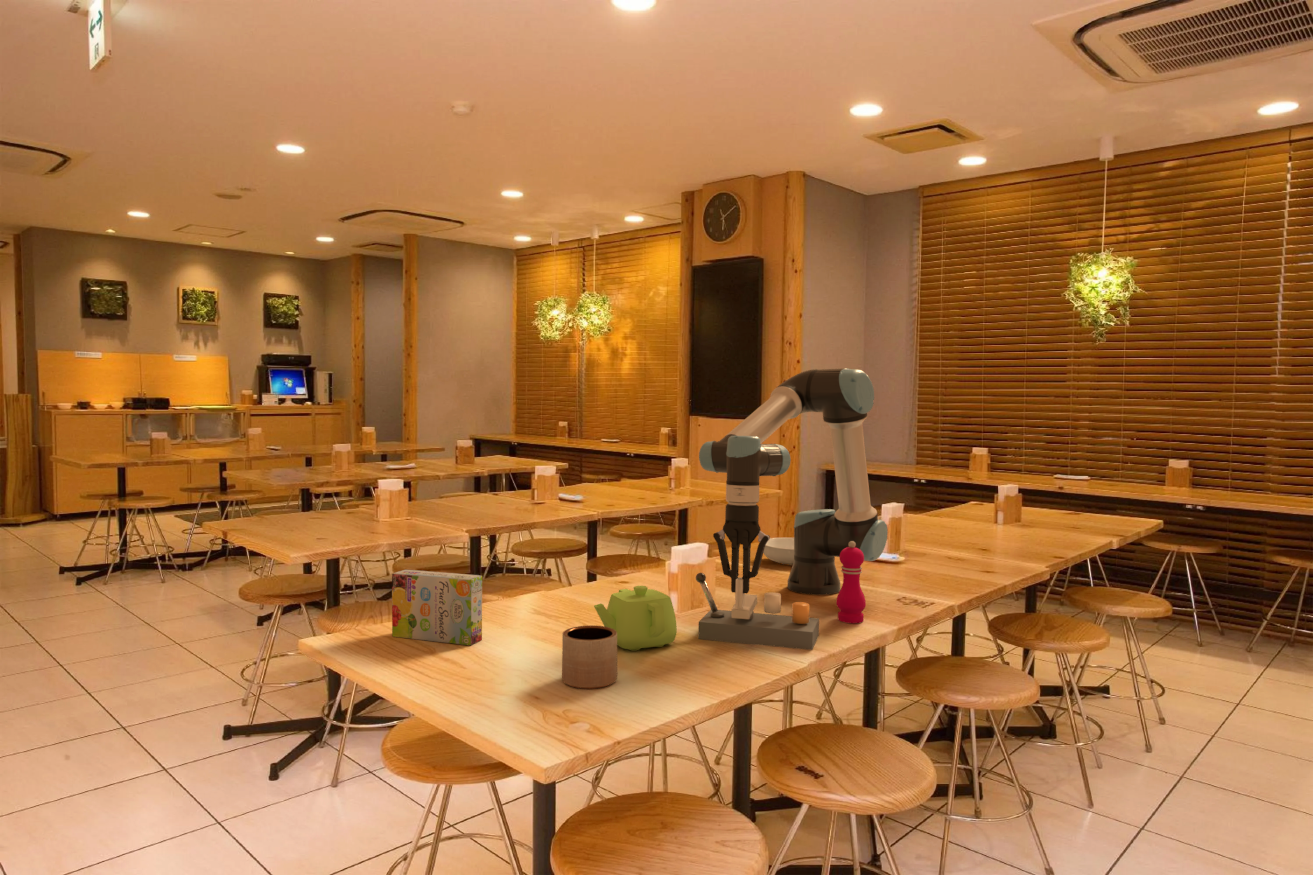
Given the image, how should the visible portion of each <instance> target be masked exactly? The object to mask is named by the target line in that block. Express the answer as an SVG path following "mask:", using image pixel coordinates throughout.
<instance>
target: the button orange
mask: <svg viewBox="0 0 1313 875" xmlns="http://www.w3.org/2000/svg"><path fill="white" fill-rule="evenodd" d="M791 612H792V613H791V616H792V622H794V623H798V624H806V623H809V618H810V604H809V603H807V602H802V601H795V602H793V603H792V609H791Z"/></svg>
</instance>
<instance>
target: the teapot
mask: <svg viewBox="0 0 1313 875" xmlns="http://www.w3.org/2000/svg"><path fill="white" fill-rule="evenodd" d="M593 607H594V609H595V611H596V613H597V615H598V616H599V619H600V621H601V623H602V626H605V627H609V628H612V629H614V630H616V631H617V647H619V648H622V649H623V650H624V649H625V650H629V651H634V652H635V651H636V652H637V651H640V650H641V649H646V648H653V647H656V648H662V647H664V646H665V645H668V644H672V643H674V641H675V639H676V636H677V619H676V612H675V609H674V605H673V601H672V598H671V596H670V595H668V594H666V593H663V592H662V591H660V590H657V589H653V588H649V587H648V586H646V585H635V586H633V590H631V589H629V588H623V589H618V592H613V593H611V594H610V598H609V601H608V605H607V607H606V606H605V604H603V603H598V604H594V606H593Z"/></svg>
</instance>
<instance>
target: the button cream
mask: <svg viewBox="0 0 1313 875" xmlns="http://www.w3.org/2000/svg"><path fill="white" fill-rule="evenodd" d="M763 600H764V602H763V603H764V604H763V612H764V613H765V614H773V615H776V614H780V613H781V611H782V610H781V609H782V608H781V606H782V594H781V593H779V592H774V591H773V592H769V591H768V592H765V593H764V595H763Z"/></svg>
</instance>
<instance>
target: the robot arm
mask: <svg viewBox="0 0 1313 875" xmlns="http://www.w3.org/2000/svg"><path fill="white" fill-rule="evenodd" d="M874 401H875V390H874V385H873V382H872V379H870V377H869V375H868V374H867V373H866V372H865V371H863V370H862V369H855V368H852V369H851V368H828V369H825V368H824V369H817V368H815V369H809V370H805V371H802V372H799V373H797V374H795V375H793V376H791V377H790V378H787V379H786V380H784V381H783V382H782V383H780V384H779V385H778V386H776V387H775V388H774V389H773V390H772V391H771V393H770V397H769V398H768V399H767V400H766V401H764V402H763V403H762V404H761V405H760V406H759V407H757V408H756V409H755V410H754V411H753V412H751V414H749V415H748V416H747V417H746V418H745V419H743V421H741V422H740V423H738V425H737V426H735V427H733V429H732V430H731V431H729V432H728V433H727V434H726V435H725V436H723V437H722V438H721V439H720V440H718V441H716V440H711V441H706V442H704V443H703V444H702V445H701V447H700V449H699V452H698V460H699V464H700V466H701V468H702V469H703V470H705V471H708V472H713V473H717V474H719V473H720V474H721V473H722V474H723V473H724V474H726V484H725V501H726V502H727V504H726V505H725V512H724V513H725V515H724V516H725V519H724V520H725V521H724V524H723V526H722V529H721V530H719V531H716V532H714V533H713V535H712V537H713V539H714V540H715V542H716V545H717V549H718V553H719V558H720V564H721V567H722V573H723V575H725V576H727V577H729V578H730V579H731V582H730V584H731V585H730V591H731V593H734V596H735V598H734V599H735V601H734V604H735V608H740V609H742V608H743V607H744V601H745V594H748V593H749V592H750V579H752V578H753V579H754V578H755V577H757V575H759V571H760V566H761V564H762V560H763V556H764V553H763V552H764V548H765V545H766V543H767V542H768V541H769V539H770V538H771V536H770V535H769V534H766V533H764V532H763V531H761V526H760V524H759V520H760V519H759V515H760V514H759V512H760V511H759V510H760V508H759V507H760V506H759V504H758V503H759V502H760V477H776V476H781V475H783V474H785V473H786V472H787V471H788V470H789V468H790V466H791V460H792V459H791V455H790V451H789V450H788V449H787V448H786V447H785V446H784V445H781V444H777V443H763V442H765V441H766V440H768V439H769V437H770V436H772V435H773V434H774V433H775V432H776V431H777V430H778V429H779V428H780V427H782V426H783V425H784V424H785V423H786V422H788V420H790V419H795V418H797V417H799V415H801V414H804V413H822V419H823V420H822V421H823V422H824V423H825V424H826V425H827V426H828V427H829V432H830V439H831V448H832V456H833V466H834V475H835V484H836V485H835V486H836V493H837V501H838V502H837V503H838V509H837V510H835V509H831V508H829V509H828V508H825V509H812V510H811V509H810V510H809V509H808V510H805V511H804V510H802V511H800V512H797V513H796V514H795V516H794V522H793V523H794V524H793V532H794V533H793V538H794V563H793V565H791V566H792V567H791V569H790V573H789V576H788V578H787V589H788V590H789V591H792V592H793V593H798V594H804V595H812V596H813V595H817V596H818V595H819V596H820V595H822V596H823V595H833V594H837V593H839V592H840V590H841V580H840V577H839V574H838V570H837V567H836V565H835V564H836V562H835V559H836V558H839V557H840V553H841V551H842V550H843V549H845V548H847V547H849V545H848V544H849V542H850V541H854V542H855V544H856V546H855V548H858V549H860V550H861V551H862V552H863V554H864V562H866V561H867V562H874V561H876V560H878V559H879V558H880V556H881V555H882V554H883V552H884V550H885V547H886V545H887V541H888V525H887V523H886V521H884V520H882V519H879V518H878V510H877V509H876V507H875V508H874V507H873V506H872V505H871V496H870V487H869V485H870V484H869V476H868V467H867V466H868V465H867V458H866V457H867V456H866V447H865V446H866V445H865V438H864V437H865V436H864V435H865V434H864V427H863V426H864V425H863V423H864V421H865V420H866V419H867V418H868V413H869V412H870V411H872V409H873V406H874V405H875V404H874V403H875V402H874ZM726 537H727V538H728V540H729V541H730V543H731V545H730V546H731V563H730V561H729V560H730V559H729V555H728V551H727V546H726V541H725V539H726ZM757 537H758V538H757ZM756 538H757V541H758V545H757V548H756V551H755V557H754V560H753V564H752V568H751V547H752V543H753V542H754V541H755V539H756ZM740 545H742V577H739V576H740V574H739V570H740V569H739V568H740V547H741V546H740ZM835 557H836V558H835Z"/></svg>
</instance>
